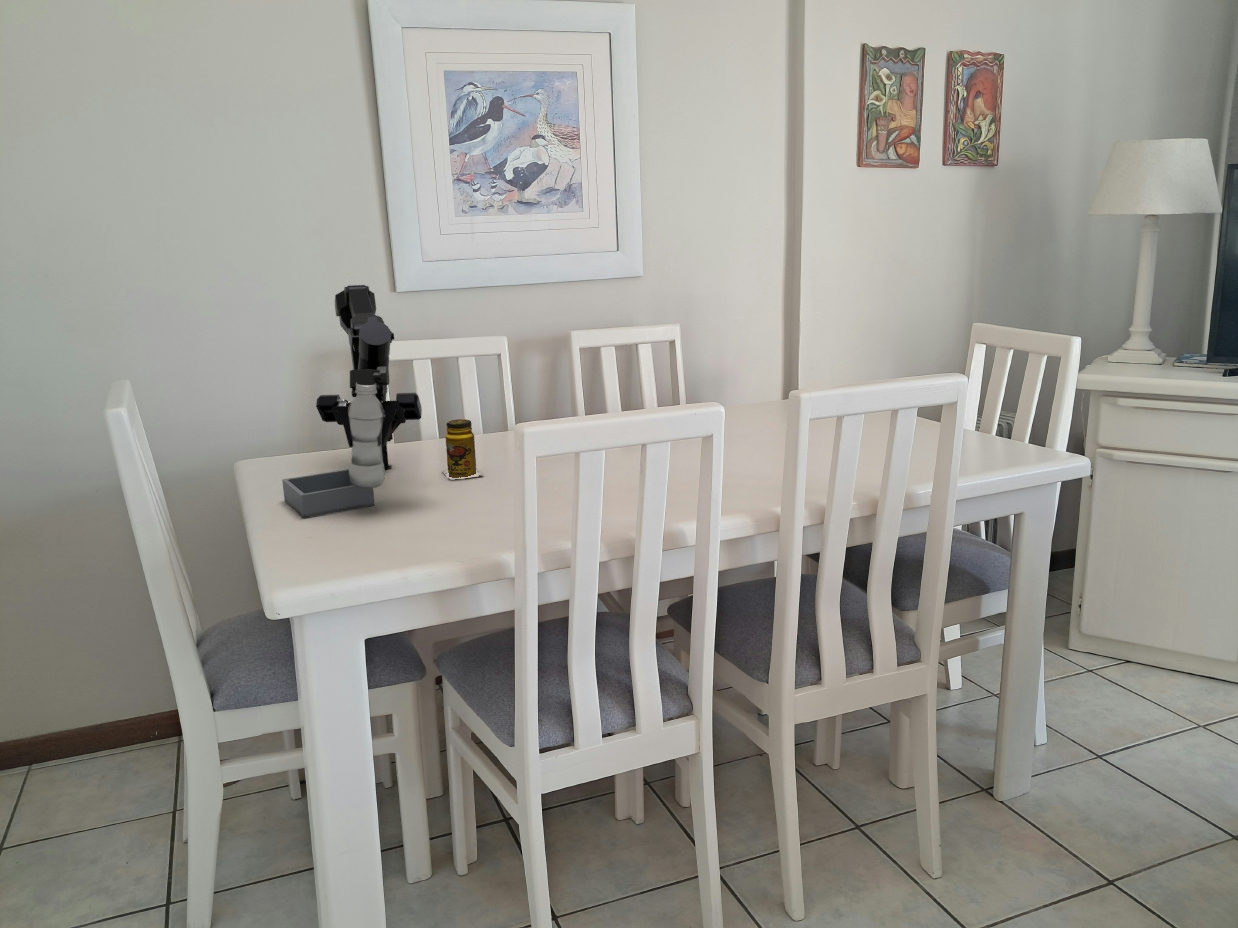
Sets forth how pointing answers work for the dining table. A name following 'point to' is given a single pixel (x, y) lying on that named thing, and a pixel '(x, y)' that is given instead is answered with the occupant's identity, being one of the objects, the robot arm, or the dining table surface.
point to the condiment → (460, 449)
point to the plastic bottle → (366, 438)
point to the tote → (325, 494)
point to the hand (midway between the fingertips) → (366, 445)
